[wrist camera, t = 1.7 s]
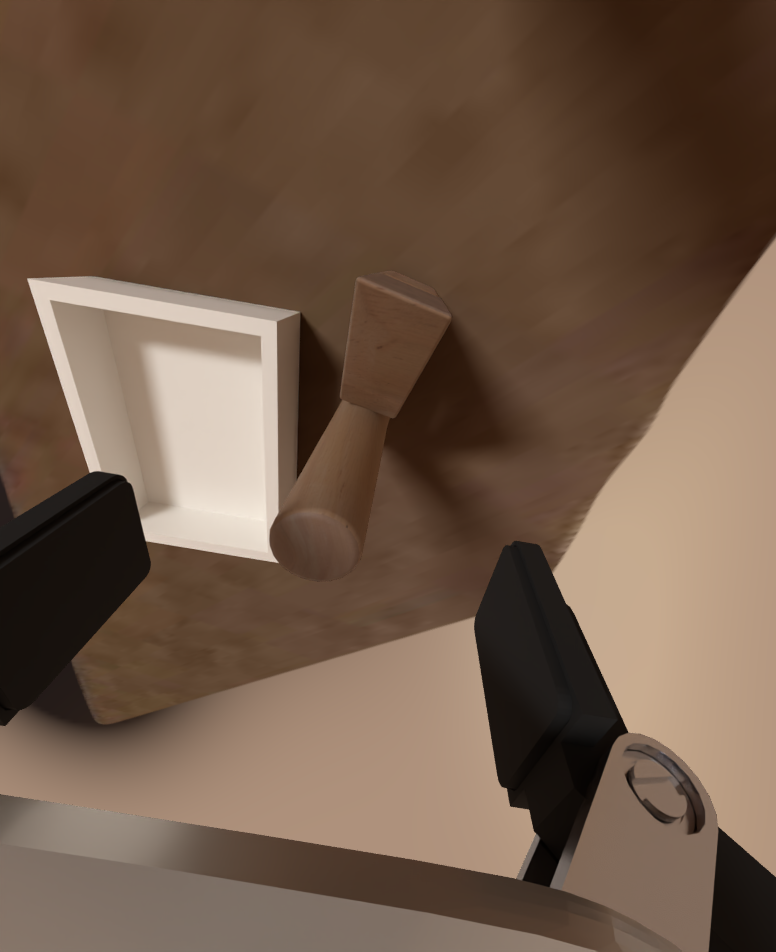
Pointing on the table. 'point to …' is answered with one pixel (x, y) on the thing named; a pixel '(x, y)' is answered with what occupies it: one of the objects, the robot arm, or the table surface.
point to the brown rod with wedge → (358, 426)
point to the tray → (181, 404)
